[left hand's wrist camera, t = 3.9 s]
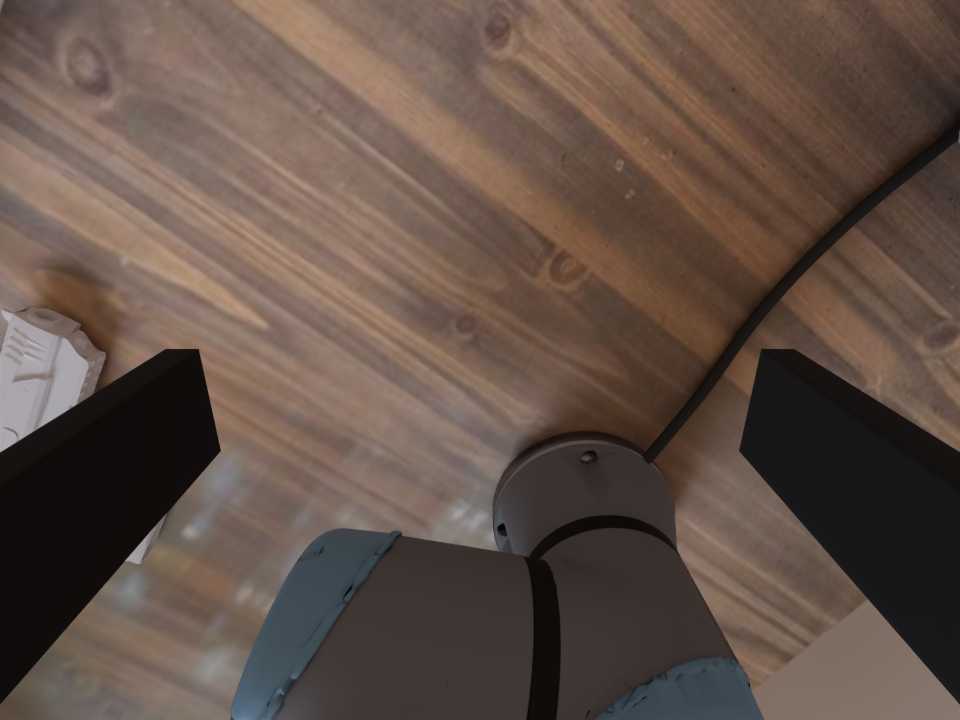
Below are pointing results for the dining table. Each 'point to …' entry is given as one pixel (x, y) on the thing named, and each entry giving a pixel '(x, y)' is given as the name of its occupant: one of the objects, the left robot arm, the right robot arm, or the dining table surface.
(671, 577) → the left robot arm
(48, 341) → the pistol
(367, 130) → the dining table surface
